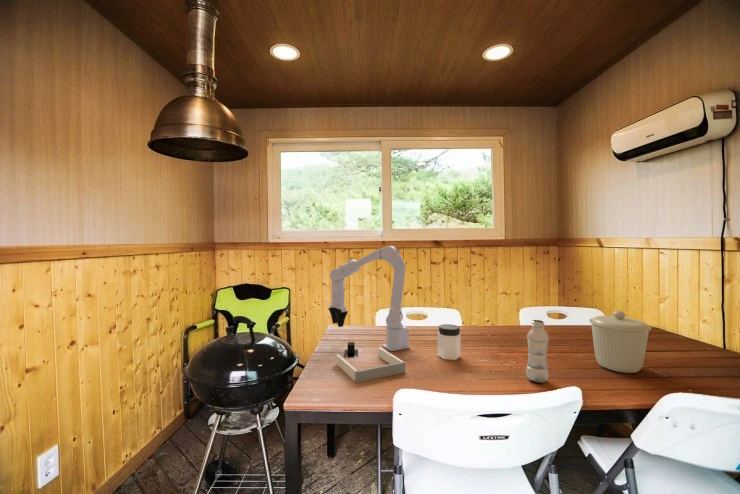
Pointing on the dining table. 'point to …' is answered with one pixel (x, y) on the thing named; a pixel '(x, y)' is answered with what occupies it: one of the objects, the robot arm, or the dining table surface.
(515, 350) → the dining table surface
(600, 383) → the dining table surface
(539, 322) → the plastic bottle
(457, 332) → the jar
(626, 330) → the canister
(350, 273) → the robot arm
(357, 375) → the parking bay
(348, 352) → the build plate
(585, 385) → the dining table surface
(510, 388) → the dining table surface
